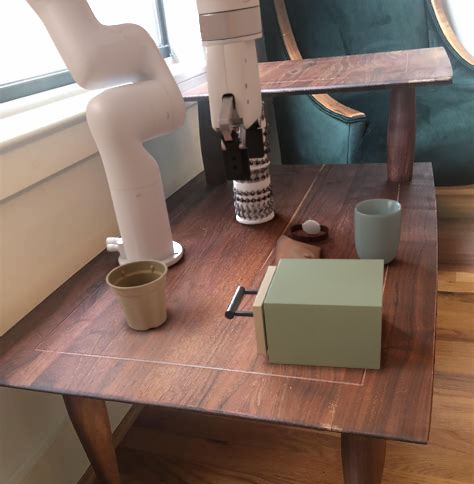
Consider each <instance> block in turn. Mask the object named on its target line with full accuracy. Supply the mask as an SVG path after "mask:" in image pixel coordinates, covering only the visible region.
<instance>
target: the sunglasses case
mask: <svg viewBox="0 0 474 484" xmlns="http://www.w3.org/2000/svg"><path fill="white" fill-rule="evenodd" d="M321 251H322V248H321V247H319V246H317V245H312V244H310V243H302V242H299V241H295V240H293V239H292V238H290V237H289V236H286V235H284V234H283V235H281V236H280V237H278V239H277V241H276V247H275V255H274V256H275V258H274V259H275V260H274V266H277V267H278V264H279V262H280V259H321Z"/></svg>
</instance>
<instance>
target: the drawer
mask: <svg viewBox="0 0 474 484" xmlns="http://www.w3.org/2000/svg"><path fill="white" fill-rule="evenodd" d="M267 267H268V268H267V269H266V272H265V274H264V277H263V280H262V281H261V284H260V287H259V289H256V288H255V289H248V288H246V287H244V286H243V285H239V286H237V287H236V289H235V290H234V292H233V295H232V297H231V300H230V302H229V303H228V306H227V308H226V310H225V312H224V317H225V318H226V319H227V320H234V318H235V317H246V318H253V325H254V333H255V343H256V351H257V355H258V356H267V354H268V342H267V332H266V322H265V311H264V301H265V299H266V296H267V293H268V291H269V288H270V285H271V283H272V280H273V278H274V275H275V272H276V270H277V266H275V265H268V266H267ZM245 295H250V296H251V295H252V296H253V295H254V296H256V297H255V299H254V301H253V304H252V306H251V307H252V310H238V309H239V308H240V305H241V303H242V301H243V298H244V296H245Z"/></svg>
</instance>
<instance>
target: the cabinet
mask: <svg viewBox="0 0 474 484" xmlns="http://www.w3.org/2000/svg"><path fill="white" fill-rule="evenodd" d="M384 267H385V265H384V260H377V259H359V258H357V259H356V258H353V259H352V258H320V259H280V262H279V264H278V267H277V270H276V272H275V275H274V278H273V280H272V283H271V285H270V288H269V291H268V293H267V296H266V299H265V301H264V311H265V322H266V332H267V342H268V351H267V353H268V360H269V364H280V365H294V366H295V365H296V366H311V367H312V366H313V367H329V368H330V367H331V368H347V369H367V370H381V355H382V353H381V352H382V328H383V325H382V324H383V301H384V300H383V299H384V298H383V297H384V275H385V274H384V271H385V269H384Z"/></svg>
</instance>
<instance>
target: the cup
mask: <svg viewBox="0 0 474 484" xmlns="http://www.w3.org/2000/svg"><path fill="white" fill-rule="evenodd" d="M402 217H403V207H402V205H401V203H400V202H399V201H397V200H394V199H388V198H370V199H366V200H362V201H359V202H358V203H357V204H356V205H355V206H354V210H353V219H354V220H353V235H354V237H353V238H354V244H355V245H354V247H355V252H356V255H357V257H358V259H377V260H384V266H385V265H388V264H390V263H392V261H394V259H395V258H396V256H397V254H398V251H399V248H400V243H401V235H402V233H401V232H402V219H403V218H402Z"/></svg>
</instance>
